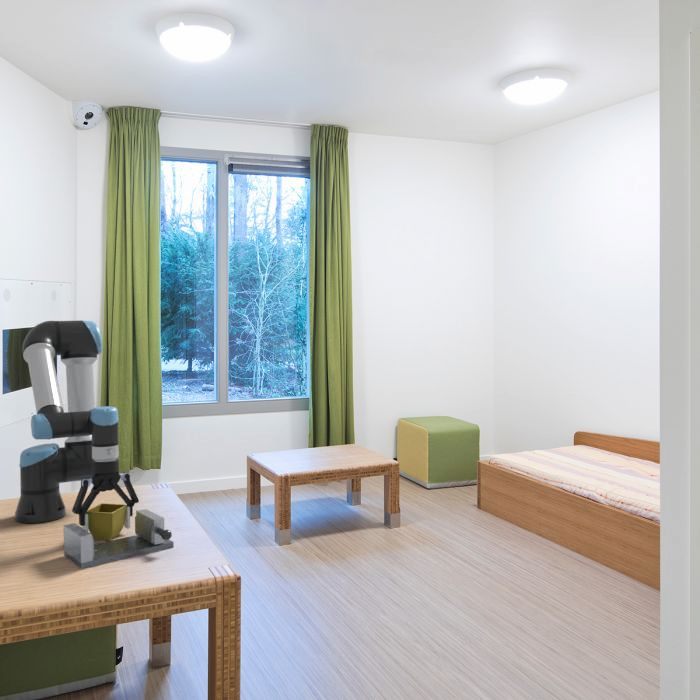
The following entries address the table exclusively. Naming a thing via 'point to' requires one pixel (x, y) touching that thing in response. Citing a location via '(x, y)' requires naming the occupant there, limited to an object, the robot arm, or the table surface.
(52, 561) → the table surface
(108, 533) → the flower pot
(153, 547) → the vise base
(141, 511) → the block
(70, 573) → the table surface
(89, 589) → the table surface
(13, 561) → the table surface
